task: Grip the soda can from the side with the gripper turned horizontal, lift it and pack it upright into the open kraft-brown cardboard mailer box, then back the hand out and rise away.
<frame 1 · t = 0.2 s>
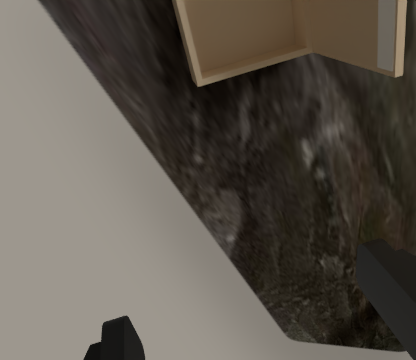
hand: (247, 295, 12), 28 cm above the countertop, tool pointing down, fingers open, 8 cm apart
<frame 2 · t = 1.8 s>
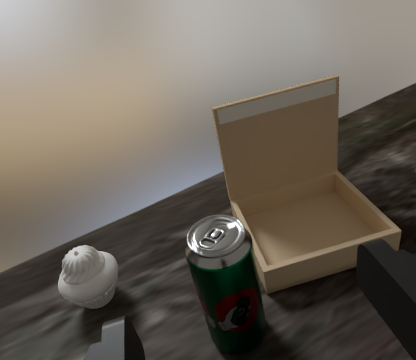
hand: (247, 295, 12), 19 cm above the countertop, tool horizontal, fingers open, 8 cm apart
soda can: (238, 332, 32), on the countertop
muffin: (100, 297, 38), on the countertop
mailer box: (306, 235, 40), on the countertop
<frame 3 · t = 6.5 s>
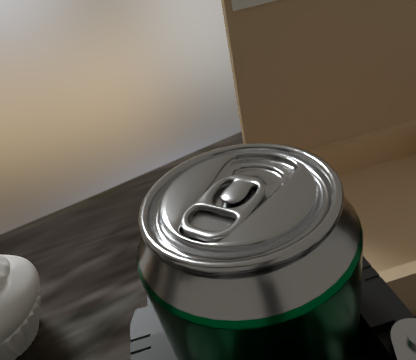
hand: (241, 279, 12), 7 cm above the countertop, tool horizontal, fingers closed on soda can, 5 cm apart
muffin: (12, 342, 20), on the countertop
mailer box: (389, 223, 22), on the countertop
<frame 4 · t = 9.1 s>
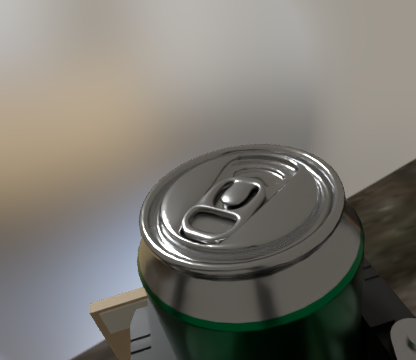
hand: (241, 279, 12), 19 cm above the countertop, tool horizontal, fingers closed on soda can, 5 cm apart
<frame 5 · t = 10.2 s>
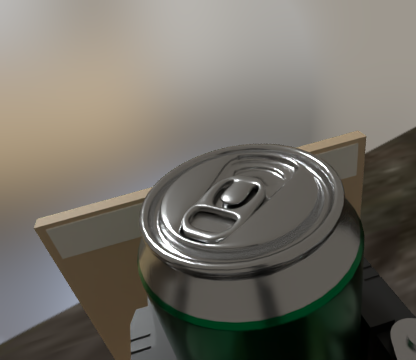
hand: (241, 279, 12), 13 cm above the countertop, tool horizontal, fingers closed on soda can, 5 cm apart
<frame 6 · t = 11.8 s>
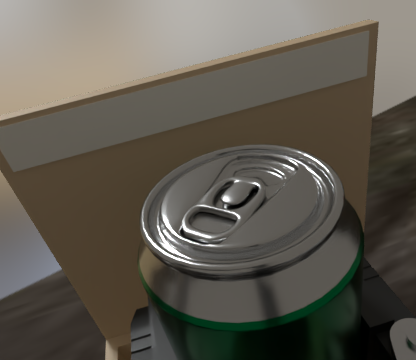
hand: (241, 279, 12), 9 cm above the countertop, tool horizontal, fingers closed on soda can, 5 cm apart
when the fingers open (9 cm above the countertop, at t = 11.8 s): soda can drops 1 cm, resting on mailer box.
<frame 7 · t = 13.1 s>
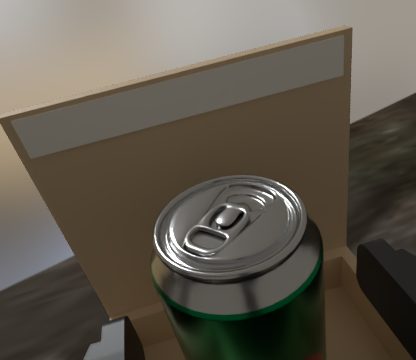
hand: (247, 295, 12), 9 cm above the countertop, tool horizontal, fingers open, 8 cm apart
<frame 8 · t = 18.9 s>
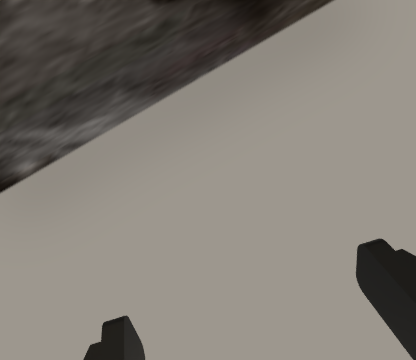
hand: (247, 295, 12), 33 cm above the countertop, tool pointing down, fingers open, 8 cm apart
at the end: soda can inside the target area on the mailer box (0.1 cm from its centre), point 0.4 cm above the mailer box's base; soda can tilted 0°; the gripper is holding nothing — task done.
